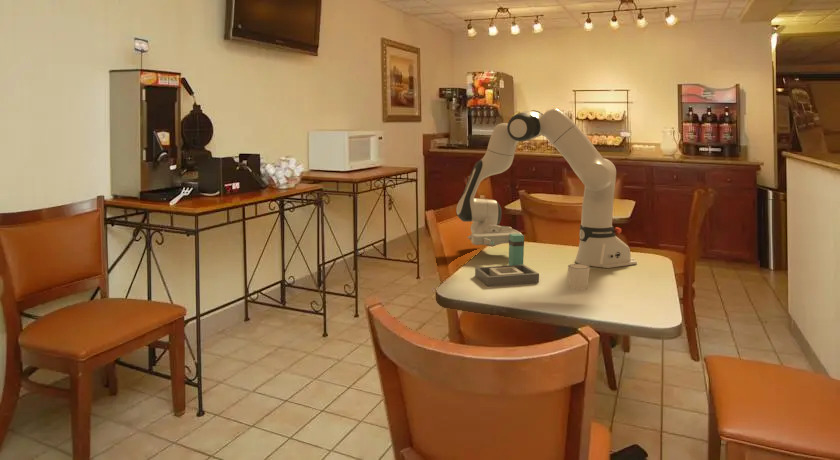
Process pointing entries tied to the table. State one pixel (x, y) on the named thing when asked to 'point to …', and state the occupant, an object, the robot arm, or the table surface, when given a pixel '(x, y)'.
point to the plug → (516, 249)
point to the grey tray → (506, 275)
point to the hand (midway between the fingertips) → (503, 242)
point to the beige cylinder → (578, 276)
